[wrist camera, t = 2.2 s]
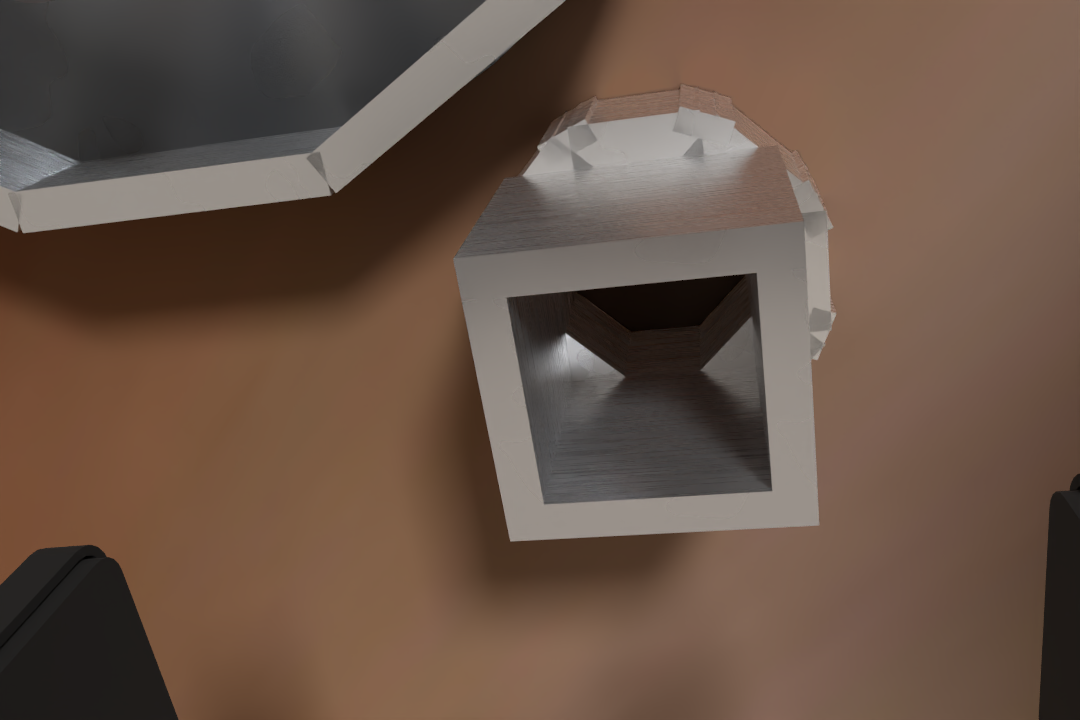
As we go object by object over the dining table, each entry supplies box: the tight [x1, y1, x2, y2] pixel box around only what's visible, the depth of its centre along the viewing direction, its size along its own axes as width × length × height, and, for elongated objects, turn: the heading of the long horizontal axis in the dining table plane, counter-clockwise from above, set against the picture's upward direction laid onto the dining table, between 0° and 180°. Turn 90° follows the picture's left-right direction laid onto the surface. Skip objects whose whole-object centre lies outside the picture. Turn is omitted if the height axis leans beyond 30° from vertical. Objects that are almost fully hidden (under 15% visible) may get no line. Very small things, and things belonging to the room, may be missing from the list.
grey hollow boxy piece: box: [453, 84, 836, 541], centre depth 16 cm, size 6×6×6 cm
